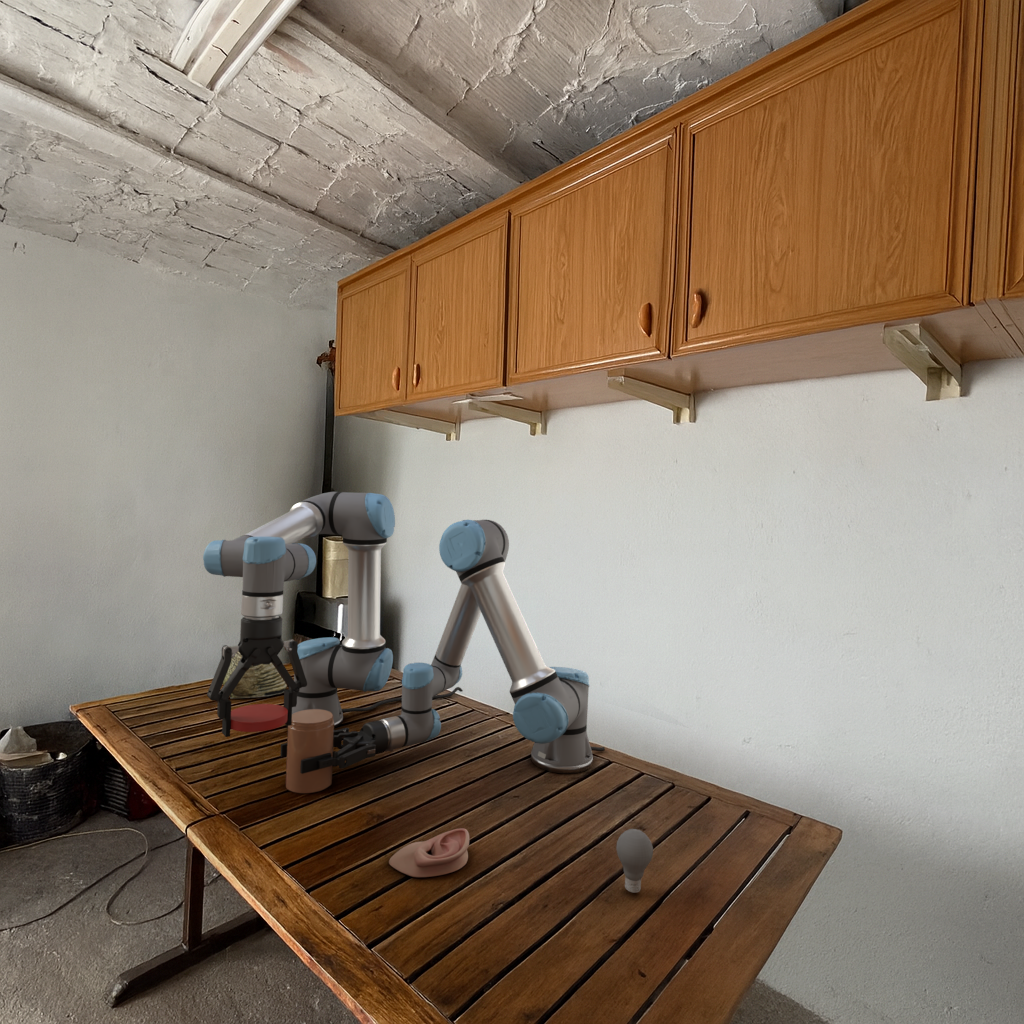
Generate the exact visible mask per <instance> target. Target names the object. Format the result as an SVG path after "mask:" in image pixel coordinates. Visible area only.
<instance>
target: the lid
mask: <svg viewBox="0 0 1024 1024" xmlns="http://www.w3.org/2000/svg"><path fill="white" fill-rule="evenodd" d="M287 719H288V710H287V709H286V708H285V707H284V705H279V704H273V703H256V704H248V705H243V706H240V707H237V708H234V709H231V725H230V730H233V731H236V732H243V733H258V732H266V731H271V730H275V729H277V728H280V727H282V726H284V725H286V724H285V723H286V722H287Z"/></svg>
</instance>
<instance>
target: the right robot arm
mask: <svg viewBox="0 0 1024 1024" xmlns="http://www.w3.org/2000/svg"><path fill="white" fill-rule="evenodd" d="M438 546H439V547H438V550H439V556H440V558H441V561H442V562H443V563H444V565H445V566H446V567H447V568H449V569H450V570H452V571H454V572H455V573H456V575H457V577H458V579H459V582H460V584H461V585H460V587H459V590H458V593H457V595H456V596H455V597H456V598H455V600H454V602H453V606H452V609H451V611H450V613H449V616H448V619H447V622H446V625H445V626H444V629H443V632H442V635H441V637H440V640H439V643H438V646H437V649H436V651H435V654H434V655H433V659H432V662H431V664H430V663H426V662H413V663H412V662H411V663H408V664H406V665H405V666H404V668H403V671H402V678H401V697H402V701H401V712H400V715H394V716H390V717H385V718H381V719H379V720H373V721H369V722H365V723H364V724H363V725H362V727H361V728H360V730H359V731H357V730H353V731H350V727H344V728H339V729H334V742H333V748H337V749H338V750H337V751H336V750H333V756H332V757H331V753H326V754H322V755H318V756H315V757H311V758H307V759H303V760H301V771H300V773H301V774H303V773H307V772H311V771H315V770H318V769H322V768H326V767H330V766H333V768H336V767H338V769H339V770H344V769H346V768H348V767H350V766H353V765H354V764H357V763H360V762H361V761H363V760H366V759H369V758H374V757H375V756H376V755H380V754H383V753H385V752H394V750H397V749H401V748H405V747H408V746H409V747H410V746H413V745H416V744H423V743H425V742H428V741H432V740H433V739H435V738H437V737H438V736H439V734H440V732H441V729H442V722H441V721H440V720H441V717H440V714H439V712H438V711H437V710H436V709H434V708H433V699H432V697H434V696H435V695H440V694H441V693H443V692H445V691H447V690H449V689H451V688H453V687H455V686H456V685H457V684H458V683H459V682H460V681H461V679H462V677H463V667H462V664H463V661H464V658H465V656H466V654H467V651H468V648H469V645H470V643H471V640H472V638H473V635H474V632H475V630H476V628H477V624H478V622H479V619H480V617H481V615H482V617H483V620H484V622H485V624H486V626H487V629H488V630H489V633H490V635H491V637H492V639H493V642H494V644H495V647H496V649H497V650H498V653H499V655H500V658H501V660H502V663H503V664H504V667H505V669H506V671H507V674H508V675H509V678H510V680H511V684H510V685H511V686H510V688H509V694H510V696H511V698H512V701H513V703H514V707H513V711H512V719H513V724H514V726H515V728H516V730H517V731H518V733H519V734H520V735H521V736H522V737H523V738H525V739H526V740H527V741H531V742H532V743H533V746H532V748H531V751H530V752H531V753H530V760H531V762H532V763H533V765H535V766H536V767H537V768H540V769H542V770H544V771H547V772H550V773H556V774H578V773H582V772H585V771H588V770H590V769H591V767H592V766H593V760H594V759H593V758H594V756H593V751H594V752H604V751H606V749H605V746H601V747H600V746H591V744H590V740H589V736H588V732H587V729H588V728H587V727H588V712H589V711H588V709H589V689H590V679H589V674H588V673H587V672H586V671H584V670H581V669H578V668H573V667H564V666H547V665H546V663H545V661H544V658H543V657H542V655H541V652H540V650H539V648H538V646H537V643H536V642H535V639H534V637H533V635H532V633H531V630H530V629H529V626H528V624H527V622H526V619H525V617H524V615H523V613H522V611H521V609H520V606H519V605H518V602H517V599H516V598H515V595H514V594H513V591H512V589H511V586H510V585H509V582H508V580H507V578H506V576H505V574H504V569H505V566H506V560H507V557H508V553H509V548H510V540H509V536H508V533H507V532H506V530H505V528H504V527H503V526H502V525H501V524H500V523H498V522H496V521H494V520H492V519H476V520H475V519H474V520H473V519H462V520H461V521H456V522H453V523H452V524H450V525H449V526H448V527H447V528H446V529H445V530H444V531H443V533H442V534H441V537H440V540H439V545H438ZM280 757H281V758H285V757H287V742H285V743H281V744H280Z"/></svg>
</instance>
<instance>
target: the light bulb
mask: <svg viewBox="0 0 1024 1024" xmlns="http://www.w3.org/2000/svg"><path fill="white" fill-rule="evenodd" d="M615 849H616V854H617V857H618V859H619V861H620V863H621V865H622V867H623V873H624V874H623V875H624V876H625V878H624V888H625V890H627V891H628V892H630V893H634V894H635V893H639V892H640V891H641V889H642V887H641V886H642V879H643V877H644V875H645V871H646V868H647V867H648V866H649V864H650V863H651V861H652V859H653V855H654V847H653V843H652V841H651V838H649V836H648V835H647V834H646V833H645V832H643V831H642V830H641V829H636V828H629V829H627V830H625V831H623V832H622V833H621V834H620V835H619V837H618V839H617V841H616V847H615Z"/></svg>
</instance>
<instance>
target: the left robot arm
mask: <svg viewBox="0 0 1024 1024" xmlns="http://www.w3.org/2000/svg"><path fill="white" fill-rule="evenodd" d="M395 526H396V517H395V511H394V507H393V504H392V502H391V501H390V499H389V498H388V497H387V496H386V495H384V494H381V493H374V492H352V491H351V492H346V491H328V492H324V493H320V494H316V495H314V496H310V497H307V498H305V499H303V500H301V501H299V502H297V503H295V504H294V505H293V506H291V508H290V509H289V511H287V512H286V513H284V514H282V515H279V516H278V517H276V518H274V519H272V520H270V521H268V522H266V523H264V524H262V525H260V526H258V527H256V528H254V529H253V530H250V531H248V532H246V533H244V534H242V535H240V536H239V537H236V538H234V539H231V540H226V539H221V540H219V539H217V540H216V539H215V540H212V541H210V542H208V544H207V546H205V549H204V551H203V555H202V559H203V560H202V561H203V566H204V569H205V570H206V572H208V574H211V575H213V576H222V577H225V578H226V577H231V578H232V577H233V578H242V591H241V607H240V608H241V609H240V614H241V616H242V618H241V619H240V630H239V631H240V634H239V635H240V636H239V637H240V638H239V642H238V644H237V645H227V644H224V645H222V647H221V658H220V661H219V663H218V665H217V668H216V670H215V672H214V675H213V678H212V680H211V683H210V686H209V688H208V690H207V692H206V695H207V697H208V699H210V701H215V702H217V709H216V711H217V712H216V715H217V718H218V719H219V720H222V722H221V723H222V724H221V725H222V726H221V734H222V735H223V736H224V737H225V738H228V737H231V729H230V725H231V711H232V701H231V700H230V699H229V698H230V695H231V693H232V692H233V690H234V689H235V687H236V686H237V684H238V683H239V681H240V680H241V678H242V677H243V675H244V674H245V672H246V671H247V670H248V669H249V668H250V667H251V665H253V666H258V665H260V664H270V663H272V664H273V665H274V667H275V668H276V670H277V671H278V673H279V674H280V676H281V677H282V679H283V680H284V681H285V683H286V685H287V688H286V690H284V692H283V707H285V708H286V709H287V710H288V719H287V722H286V723H285V724H284V725H285V726H286V728H288V726H290V725H292V714H294V713H296V712H299V711H303V710H309V709H321V710H327V711H329V712H331V713H332V714H333V720H334V729H335V728H337V727H339V726H340V725H342V723H343V722H344V714H343V713H351V712H353V713H354V712H355V713H356V712H368V711H371V710H372V711H373V710H374V709H375V708H377V707H379V706H382V705H386V704H390V703H396V702H402V696H401V697H395V698H389V699H385V700H380V701H378V702H376V703H374V704H372V705H370V706H367V707H349V708H342V706H341V702H340V699H339V695H338V689H342V690H343V689H344V690H351V691H359V692H360V691H362V692H365V693H366V692H379V691H381V690H382V689H383V688H384V687H385V685H386V684H387V682H388V680H389V678H390V675H391V671H392V668H393V664H394V663H393V662H394V654H393V651H392V649H391V648H388V647H387V648H386V639H385V638H384V637H383V636H382V635H381V585H382V584H381V583H382V581H381V580H382V579H381V578H382V577H381V573H382V549H383V548H384V546H386V545H387V543H388V538H391V537H392V536H393V535H394V533H395ZM317 535H336V536H342V544H343V545H344V547H346V548H347V551H348V552H347V554H348V556H347V558H348V561H347V562H348V564H347V565H348V566H347V567H348V569H347V570H348V571H347V575H348V576H347V585H348V586H347V636H346V637H345V638H344V639H343V640H342V641H340V639H339V638H338V637H334V636H331V637H330V636H329V637H318V638H313V639H307V640H304V641H302V642H298V641H297V640H295V639H293V638H289V639H288V640H283V638H282V635H283V618H282V616H281V615H282V614H283V613H284V612H283V609H284V588H285V587H284V586H285V582H290V581H296V580H301V579H303V578H305V577H308V576H310V575H311V574H312V573H313V572H314V570H315V568H316V566H317V557H316V553H315V551H314V550H313V548H311V546H309V545H307V544H305V543H299V542H300V541H302V540H303V539H307V538H308V539H309V538H313V537H316V536H317ZM340 643H341V644H340ZM283 648H284V650H285V651H286V652H287V655H288V658H289V661H290V664H291V668H292V671H293V677H292V676H291V673H290V672H289V670H287V668H286V666H285V665H284V664H283V661H282V660H281V658H280V657H279V656H278V655H279V654H280V652H281V651H282V649H283ZM237 652H239V653H240V654H241V655H242V657H241V659H240V660H239V662H238V665H237V667H236V668H235V670H234V671H233V673H232V674H231V676H230V677H229V679H228V680H227V682H226V683H225V685H223V681H224V679H225V676H226V674H227V671H228V669H229V666H230V663H231V660H232V658H233V657H234V656H235V654H236V653H237ZM463 691H464V690H463V689H462V688H461V687H460V686H456V687H454V689H453V690H452V691H451V692H449V693H446V694H437V695H435V696H434V697H432V700H436V699H445V698H449V697H453V695H454V694H456V692H460V693H461V692H462V693H463Z"/></svg>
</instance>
